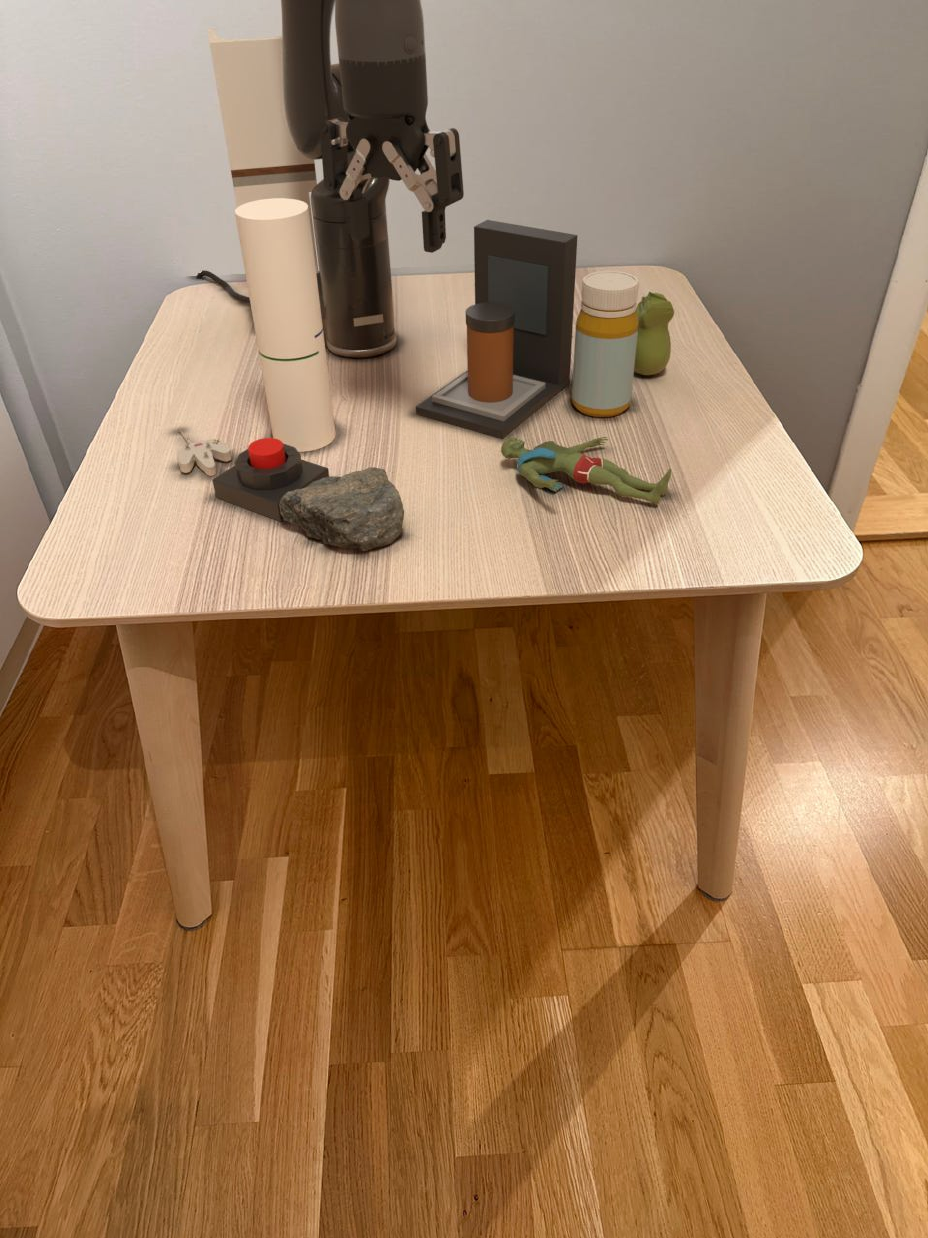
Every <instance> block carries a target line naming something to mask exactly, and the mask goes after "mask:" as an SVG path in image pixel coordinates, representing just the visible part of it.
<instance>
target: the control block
mask: <svg viewBox="0 0 928 1238" xmlns="http://www.w3.org/2000/svg"><path fill="white" fill-rule="evenodd" d="M283 445H284V451H285V457H286V461H285V463H284V464H282V465H281V466H279V467H275V468H271V469H257V468H254V467H252V465H251V463H250V458H249V452H248V448H246V449H245V450H243V451H242V452H241V453H239V454H238V455H237V458H236V460H235V462H234V465H233V466H231V467H230V468H228V469H226V470H225V471H223V472H222V473H220V474H219V475H217V476H216V477H214V478H212V479H211V481H212V485H213V490H214V494H215V498H216V499H219V500H221V501H224V502H228V503H230V504H232V505H235V506H237V507H241V508H243V509H246V510H249V511H251V512H253V513H256V514H259V515H262V516H265V517H267V518H270V519H272V520H274V521H279V522H282V521H285V520H284V518H283V516H282V515H281V512H280V506H279V504H280V501H281V499H282V497H283V496H284V495H285V494H286V493H287V492H290V491H293V490H295V489H302V488H306V487H307V486H308V485H310V484H311V483H312V482H314V481H317V480H320V479H322V478H324V477H330V472H329V467H326V466H323V465H320V464H317V463H314V462H311V461H307V460H305V459H302V456H301V452H298V451H297V450H296V448H295V447H292V446H289V445H286V444H283Z"/></svg>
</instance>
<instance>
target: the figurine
mask: <svg viewBox="0 0 928 1238" xmlns="http://www.w3.org/2000/svg"><path fill="white" fill-rule="evenodd" d="M606 441H609V439H608V437H607V436H601V437H597V438H594V439H592V440H588V441H586V442H582V443H580V444H579V443H578V444H576V445H573V446H570V447H565V446H563V445H559V444H557V443H555V442H554V440H548V441H544V442H541V444H539V445H537V446H535V447H534V448H533V449H527V448H526V447H525V444H526V442H525V441H524V440H522V439H520V438H519V439H518V437H510V438H507V439H505V440H504V441H503V442H502V445H501V448H500V452H501V454H502V456H503V457H504V458H505V459H508V460H512V459H517V464H516V465H517V467H516V468H517V472H518V474H519V476H522V477H524V478H525V479H526V480H527V481H528V482H530V483H531V484H532V485H533V486H534V487H535V488H539V489H542V488H547V489H548V490H551V491H552V492H555V493H557V492H558V490H561V489H562V488H563V486H564V485H562V484H561V482H559V479H552V478H550V477H548V476H547V475H545V474H548V473H553V472H562V473H563V472H564V473H566V474H567V475H568V476H569V477H570V478H571V479H573V480H574V481H575V482H577V483H579V484H587V483H590V484H593V485H598V486H602V485H604V486H605V485H607V486H609V487H612V488H613V490H614V491H615V492H616V493H617V494H618V495H619V496H620V497H621V498H633V499H640V500H644V501H646V502H649V503H651V504H653V505H656V506H657V505H658V504H660V501H661V497H662V496H663V497H664V496H666V494H667V491H668V490H667V489H668V485H669V481H670V479H671V477H672V476H671V475H672V468H669V469H668V470H667V471H666V473H665V474H664V476H663V477H662V478H661V479H660V480H659V481H658V482H657V483H652V482H648V481H645V480H643V479H641V478H640V477H636V476H633V475H631V474H630V473H629V472H628V471H627V470H626V469H625V468H622V467H620V466H618V465H616V463H614V462H613V461H611V460H609V459H606V458H601V457H591V456H588V455H585V454H583V453H581V452H583V451H585V450H586V449H588V448H595V447H598V446H605V444H607V443H608V442H606ZM642 490H644V491H642ZM646 491H648V492H646Z"/></svg>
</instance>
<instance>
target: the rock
mask: <svg viewBox="0 0 928 1238" xmlns="http://www.w3.org/2000/svg"><path fill="white" fill-rule="evenodd" d="M386 471H387V470H386V469H385V468H378V467H375V466H371V467H367V468H365V469H362V470H357V471H352V472H349V473H347V474H344V475H342V476H329V477H324V478H322V479H320V480H317V481H314V482H312V483H311V484H310V485H308V486H307V487H306V488H302V489H295V490H293V491H290V492H287V493H286V494H285V495H284V496H283V497H282V499H281V501H280V504H279V506H280V512H281V515H282V516H283V518H284V520H283V521H286V522H288V523H290V524H293V525H295V526H299V527H300V528H301V529H302V530H303V531H304V532H305V535H306V536H307V537H309V538H313V539H316V540H321V541H322V542H323V543H324V544H325V545H330V546H334V547H338V548H347V549H359V551H363V552H366V551H369V550H372V549H375V548H381V547H384V546H387V545H390V544H392V543H393V542H394V541H395V540H396V539H397V538H398V537H399V536H400V535H401V534H402V532H403V524H404V523H403V522H404V520H405V519H404V518H405V509H404V505H403V500H402V497H401V495H400V492H399V490H398V489H397V487H396V486H395V484H393V482H391V481H390V480H389V477H388V474H387V472H386Z"/></svg>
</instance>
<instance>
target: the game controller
mask: <svg viewBox="0 0 928 1238" xmlns="http://www.w3.org/2000/svg"><path fill="white" fill-rule="evenodd" d="M177 432H178V433H180V432H181V434H182V436H183V438H184V440H186V441H190V442H191V443H188V442H186V443H185V444H184V445H183V446H182V447H180V448H179V449H178V450H177V451H176V459H177V463H178V467H179V469H180V472H182V473H185V474H187V473H190V472H191V471H192V470H193V467H194V465H195V462H196V465H197V466H198V467H199V469H200V470H201V471H203V473H205V475H207V476H208V477H213V476H215V475H216V474H217V469H216V462H215V459H216V460H218V461H222V462H229V461H232V452H231V448H230V446H229V445H228V444H226V442H225V441H223V440H221V439H218V438H209V439H204V440H199V441H194V442H193V440H192V439H191V438H190V437H186V435H185V434H184V432H183V430H182V429H181V428H177Z"/></svg>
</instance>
